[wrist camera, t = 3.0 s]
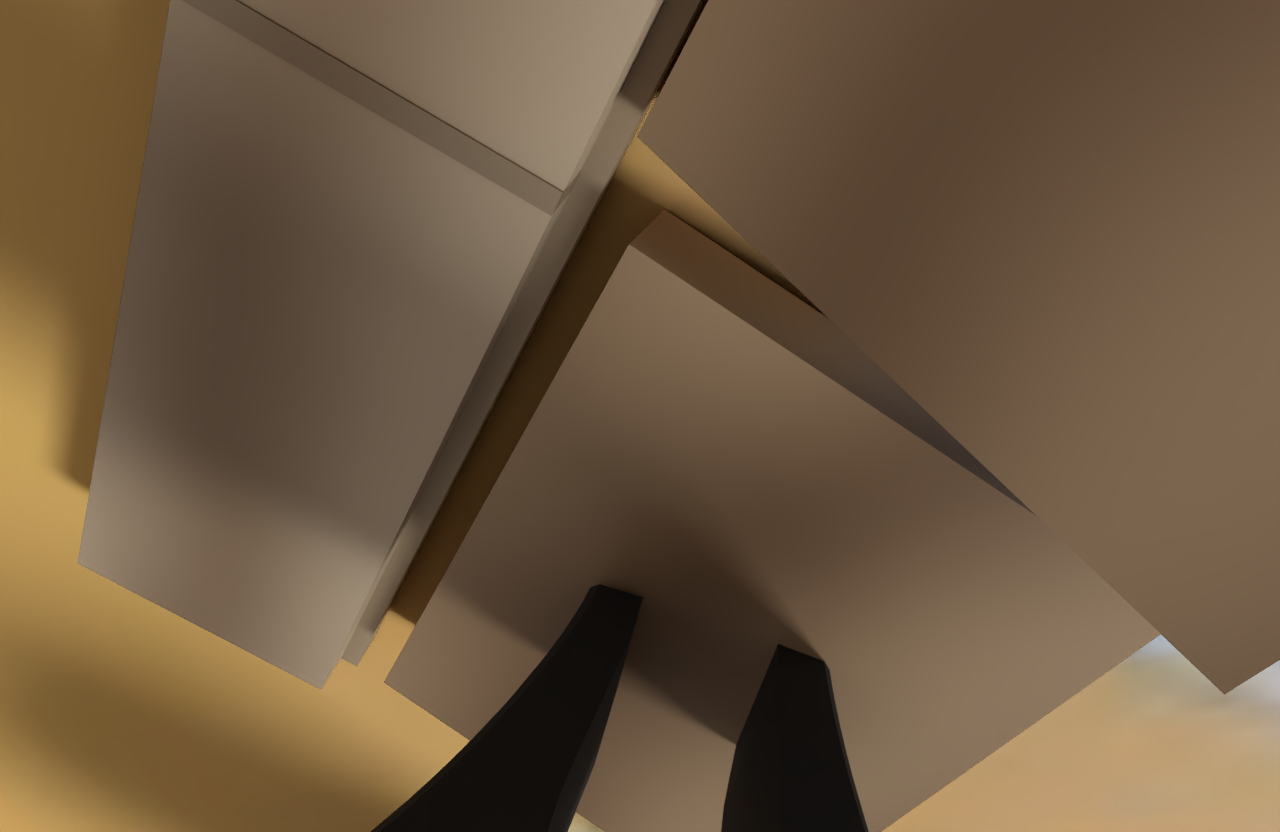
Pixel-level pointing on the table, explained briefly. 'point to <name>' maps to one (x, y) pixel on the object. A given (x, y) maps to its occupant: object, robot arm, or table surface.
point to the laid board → (342, 288)
